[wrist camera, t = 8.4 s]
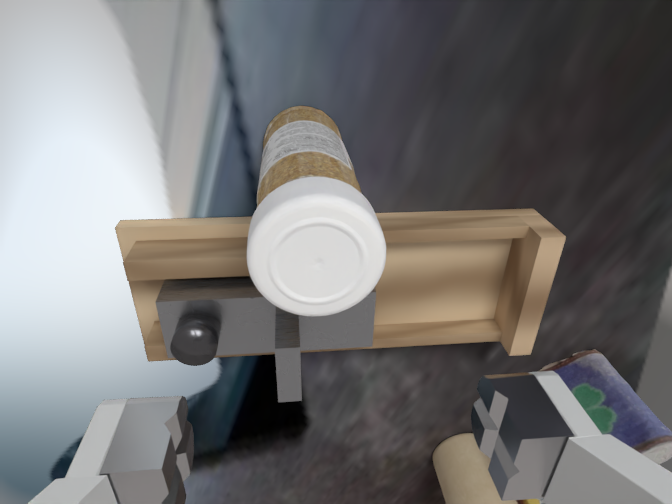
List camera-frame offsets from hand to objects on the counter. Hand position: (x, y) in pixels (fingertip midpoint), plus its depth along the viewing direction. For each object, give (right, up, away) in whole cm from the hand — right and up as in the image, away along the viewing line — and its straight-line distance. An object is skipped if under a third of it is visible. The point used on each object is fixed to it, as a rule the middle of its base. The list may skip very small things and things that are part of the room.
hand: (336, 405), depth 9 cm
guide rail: (0, +2, +21) cm, 21 cm away
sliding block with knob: (-4, +1, +20) cm, 20 cm away
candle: (+11, -15, +32) cm, 38 cm away
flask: (+18, -7, +29) cm, 34 cm away
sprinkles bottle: (-2, +9, +17) cm, 19 cm away
